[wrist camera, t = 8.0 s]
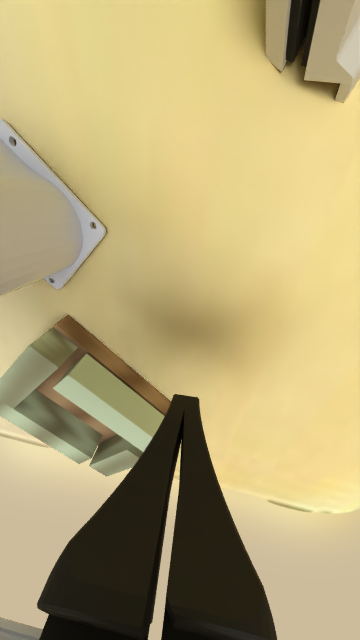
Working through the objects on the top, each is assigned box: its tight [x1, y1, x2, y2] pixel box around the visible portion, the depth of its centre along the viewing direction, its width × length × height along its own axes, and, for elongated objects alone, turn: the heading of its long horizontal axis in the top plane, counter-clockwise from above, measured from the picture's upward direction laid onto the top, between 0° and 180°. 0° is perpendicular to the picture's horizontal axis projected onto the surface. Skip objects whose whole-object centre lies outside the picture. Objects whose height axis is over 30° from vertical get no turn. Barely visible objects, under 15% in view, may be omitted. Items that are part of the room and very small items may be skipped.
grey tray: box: [0, 315, 171, 476], centre depth 24 cm, size 18×14×5 cm
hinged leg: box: [53, 354, 165, 452], centre depth 21 cm, size 14×3×4 cm, turn 42°
